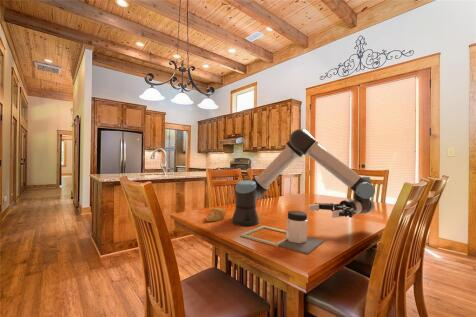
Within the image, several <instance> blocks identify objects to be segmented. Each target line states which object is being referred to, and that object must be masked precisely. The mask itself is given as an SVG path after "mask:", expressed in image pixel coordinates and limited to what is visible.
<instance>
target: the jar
mask: <svg viewBox="0 0 476 317" xmlns="http://www.w3.org/2000/svg"><path fill="white" fill-rule="evenodd" d="M285 231H286V233H285V238H287V239H288V241H289V242H294V243H299V244H300V243H303V242H306V241H307V237H308V213H307V212H305V211H302V210H289V211H288V212H287V217H286V230H285Z"/></svg>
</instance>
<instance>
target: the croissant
mask: <svg viewBox="0 0 476 317" xmlns="http://www.w3.org/2000/svg"><path fill="white" fill-rule="evenodd" d="M226 212H227V211H226V210H225V209H224V208H222V207H213V208H211V209H210V210H209V212H208V213H207V214H208V215H206V216H207V217H205V219H206V222H217V221H218V222H219V221H221V220H223V219H224V218H225V217H226V214H227V213H226Z"/></svg>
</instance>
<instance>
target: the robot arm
mask: <svg viewBox="0 0 476 317" xmlns="http://www.w3.org/2000/svg"><path fill="white" fill-rule="evenodd" d="M303 156H308V157H309V158H311V159H312V160H314V161H315V162H316V163H318V165H320V166H321V167H323V168H324V169H325V170H326V171H328V172H329V173H330V174H331V175H332V176H334V177H335V178H336V179H337V180H339V181H340V182H341V183H343V184H344V185H345V186H347V188H349V189H350V190H352V192H353V198H352V199H344V200H341V201H340V202H339V203H334V202H332V203H331V202H330V203H328V202H327V203H325V202H324V203H323V202H321V203H320V202H315V203H314V204H308V212H313V211H317V212H318V211H319V210H323V211H325V210H326V211H331V212H332V214H331V215H332V216H331V217H332V218H333V219H335V218H340V217H341V218H343V217H348V218H353V217H354V216H355V215H360V214H367V213H370V212H372V211H374V210H373V209H374V208H375V207H374V206H375V204H374V202H373V201H372V200H371V198H373V197H374V195H375V192H376V190H375V187H374V184H372V183H371V177H370V176H366V175H360V174H359V173H357V172H356V171H354V170H353V169H352V168H350V167H349V166H348V165H347V164H346V163H344V162H342V160H340V159H339V158H337V157H336V156H335V155H333V153H330V151H328V150H327V149H325V148H324V147H323V146H322V145H321V144H319V141H318V140H317V139H316V138H315V137H314V136H313V135H312V134H311V132H309V131H308V130H306V129H304V128H298V129H295V130H293V132H292V133H291V134H290V135H289V140H288V141H287V142H286V143H285V148H284V149H283V150H282V151H281V152H279V154H278V155H277V156H276V157H275V158H274V159H273V160H272V162H270V163H269V165H268V166H267V167H265V168H264V170H263V171H261V172H260V173H259V175H254V176H253V177H252V178H251V180H250V179H249V180H248V179H247V180H246V179H245V180H240V181H237V182H236V184H235V209H234V211H233V216H232V218H231V220H232V224H233V225H237V226H244V227H249V226H256V225H258V224H259V223H260V222H259V221H260V219H259V218H260V217H259V215H258V212H257V200H259V199H262V198H263V196H265V194H266V192H267V191H268V190H270V185H271V184H272V183H273V182H274V181H275V180H276V179H277V178H278V177H279V176H280V175H281V173H283V172H284V171H285V170H286V169H287V168H288V167H289V166H290V165H291V164H292V163H293V162H294V161H296V159H297V158H298V159H299V158H302V157H303Z"/></svg>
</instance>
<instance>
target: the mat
mask: <svg viewBox="0 0 476 317" xmlns="http://www.w3.org/2000/svg"><path fill="white" fill-rule="evenodd" d="M324 242H325V240H323V239H320V238H315V237H310V236H307V241H306V242H303V243H300V244H299V243H294V242H289V241H286V242H284V243H283V244H281V245H279V247H280V248H283V249H288V250H291V251H295V252H298V253H302V254H306V255H310V253H312V252H313V251H314V250H316V249H317V248H318V247H319V246H320V245H322V244H323V243H324Z"/></svg>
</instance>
